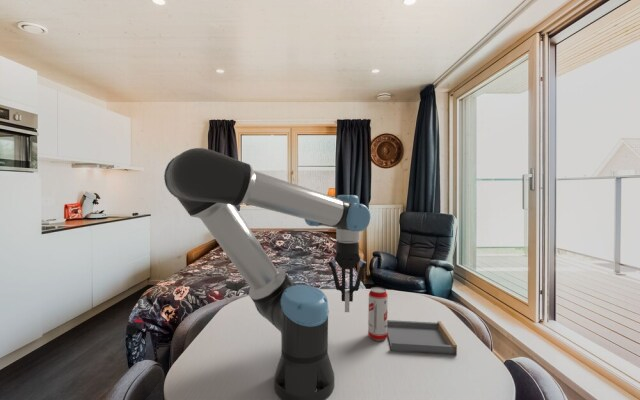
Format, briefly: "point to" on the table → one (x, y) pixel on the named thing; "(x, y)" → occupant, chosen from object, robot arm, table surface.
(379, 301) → the beer can
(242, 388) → the table surface
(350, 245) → the robot arm
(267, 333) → the table surface
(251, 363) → the table surface
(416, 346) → the tray
